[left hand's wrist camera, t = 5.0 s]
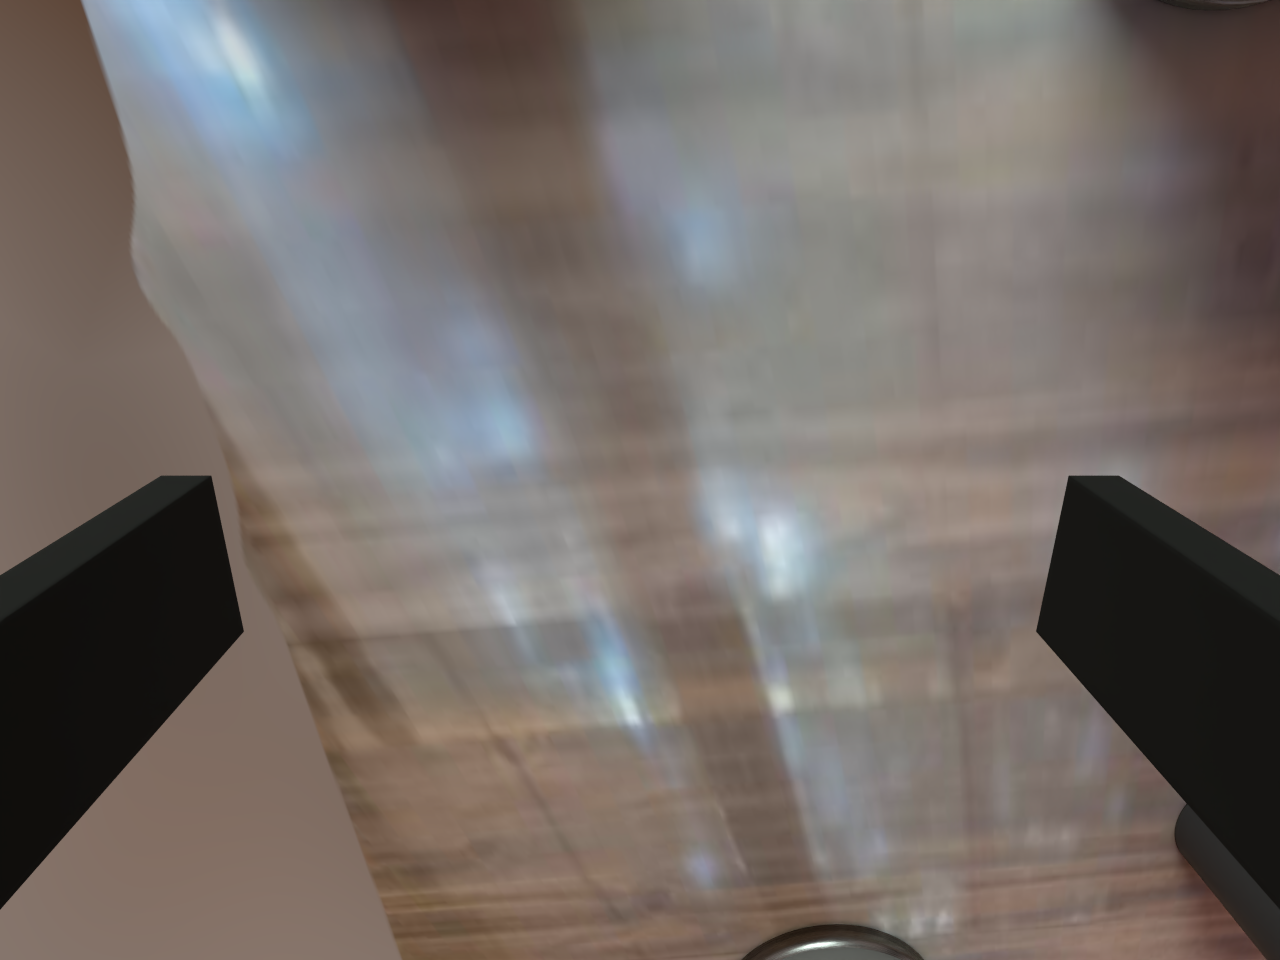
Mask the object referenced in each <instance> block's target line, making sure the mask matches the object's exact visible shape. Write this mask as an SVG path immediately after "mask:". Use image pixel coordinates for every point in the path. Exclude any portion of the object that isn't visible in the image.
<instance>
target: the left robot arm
mask: <svg viewBox="0 0 1280 960" xmlns="http://www.w3.org/2000/svg"><path fill="white" fill-rule="evenodd" d="M243 632H244V630H243V625H242V621H241V616H240V611H239V606H238V601H237V597H236V592H235V587H234V582H233V577H232V573H231V568H230V563H229V558H228V554H227V549H226V544H225V539H224V534H223V530H222V525H221V520H220V515H219V511H218V506H217V501H216V496H215V491H214V486H213V482H212V477H211V476H160V477H158V478H157V479H155V480H154V481H152V482H150V483H149V484H147V485H145V486H144V487H142V488H141V489H139V490H137V491H136V492H134V493H133V494H131V495H129V496H128V497H126V498H124V499H123V500H121V501H120V502H118V503H116V504H115V505H113V506H112V507H110V508H108V509H107V510H105V511H103V512H102V513H100V514H99V515H97V516H95V517H94V518H92V519H91V520H89V521H87V522H86V523H84V524H83V525H81V526H79V527H78V528H76V529H74V530H73V531H71V532H70V533H68V534H66V535H65V536H63V537H61V538H60V539H58V540H57V541H55V542H53V543H52V544H50V545H49V546H47V547H45V548H44V549H42V550H40V551H39V552H37V553H36V554H34V555H32V556H31V557H29V558H28V559H26V560H24V561H23V562H21V563H19V564H18V565H16V566H15V567H13V568H11V569H10V570H8V571H7V572H5V573H3V574H2V575H0V909H1V908H2V907H3V906H4V905H5V903H6V902H7V901H8V900H9V899H10V898H11V897H12V896H13V894H14V893H15V892H16V891H17V890H18V889H19V888H20V886H21V885H22V884H23V883H24V882H25V881H26V880H27V878H28V877H29V876H30V875H31V874H32V873H33V871H34V870H35V869H36V868H37V867H38V866H39V865H40V864H41V862H42V861H43V860H44V859H45V858H46V857H47V855H48V854H49V853H50V852H51V851H52V850H53V849H54V848H55V846H56V845H57V844H58V843H59V842H60V841H61V840H62V838H63V837H64V836H65V835H66V834H67V833H68V832H69V830H70V829H71V828H72V827H73V826H74V825H75V824H76V822H77V821H78V820H79V819H80V818H81V817H82V816H83V814H84V813H85V812H86V811H87V810H88V809H89V808H90V806H91V805H92V804H93V803H94V802H95V801H96V800H97V798H98V797H99V796H100V795H101V794H102V793H103V792H104V790H105V789H106V788H107V787H108V786H109V785H110V784H111V783H112V781H113V780H114V779H115V778H116V777H117V776H118V775H119V773H120V772H121V771H122V770H123V769H124V768H125V767H126V765H127V764H128V763H129V762H130V761H131V760H132V759H133V757H134V756H135V755H136V754H137V753H138V752H139V751H140V749H141V748H142V747H143V746H144V745H145V744H146V743H147V741H148V740H149V739H150V738H151V737H152V736H153V735H154V733H155V732H156V731H157V730H158V729H159V728H160V727H161V725H162V724H163V723H164V722H165V721H166V720H167V719H168V717H169V716H170V715H171V714H172V713H173V712H174V711H175V709H176V708H177V707H178V706H179V705H180V704H181V703H182V701H183V700H184V699H185V698H186V697H187V696H188V695H189V693H190V692H191V691H192V690H193V689H194V688H195V686H196V685H197V684H198V683H199V682H200V681H201V680H202V679H203V677H204V676H205V675H206V674H207V673H208V672H209V671H210V669H211V668H212V667H213V666H214V665H215V664H216V663H217V661H218V660H219V659H220V658H221V657H222V656H223V655H224V653H225V652H226V651H227V650H228V649H229V648H230V647H231V646H232V644H233V643H234V642H235V641H236V640H237V639H238V638H239V636H240V635H241V634H242V633H243ZM1036 632H1037V633H1038V634H1039V635H1040V636H1041V638H1042V639H1043V640H1044V641H1045V642H1046V643H1047V644H1048V646H1049V647H1050V648H1051V649H1052V650H1053V651H1054V652H1055V654H1056V655H1057V656H1058V657H1059V658H1060V659H1061V660H1062V662H1063V663H1064V664H1065V665H1066V666H1067V667H1068V668H1069V669H1070V671H1071V672H1072V673H1073V674H1074V675H1075V676H1076V677H1077V679H1078V680H1079V681H1080V682H1081V683H1082V684H1083V685H1084V687H1085V688H1086V689H1087V690H1088V691H1089V692H1090V693H1091V695H1092V696H1093V697H1094V698H1095V699H1096V700H1097V701H1098V703H1099V704H1100V705H1101V706H1102V707H1103V708H1104V709H1105V711H1106V712H1107V713H1108V714H1109V715H1110V716H1111V717H1112V719H1113V720H1114V721H1115V722H1116V723H1117V724H1118V725H1119V727H1120V728H1121V729H1122V730H1123V731H1124V732H1125V733H1126V735H1127V736H1128V737H1129V738H1130V739H1131V740H1132V741H1133V743H1134V744H1135V745H1136V746H1137V747H1138V748H1139V749H1140V751H1141V752H1142V753H1143V754H1144V755H1145V756H1146V757H1147V759H1148V760H1149V761H1150V762H1151V763H1152V764H1153V765H1154V767H1155V768H1156V769H1157V770H1158V771H1159V772H1160V773H1161V775H1162V776H1163V777H1164V778H1165V779H1166V780H1167V781H1168V783H1169V784H1170V785H1171V786H1172V787H1173V788H1174V789H1175V790H1176V792H1177V793H1178V794H1179V795H1180V796H1181V797H1182V798H1183V800H1184V801H1185V802H1186V803H1187V804H1188V805H1189V806H1190V808H1191V809H1192V810H1193V811H1194V812H1195V813H1196V814H1197V816H1198V817H1199V818H1200V819H1201V820H1202V821H1203V822H1204V824H1205V825H1206V826H1207V827H1208V828H1209V829H1210V830H1211V832H1212V833H1213V834H1214V835H1215V836H1216V837H1217V838H1218V840H1219V841H1220V842H1221V843H1222V844H1223V845H1224V846H1225V848H1226V849H1227V850H1228V851H1229V852H1230V853H1231V854H1232V856H1233V857H1234V858H1235V859H1236V860H1237V861H1238V862H1239V864H1240V865H1241V866H1242V867H1243V868H1244V869H1245V870H1246V872H1247V873H1248V874H1249V875H1250V876H1251V877H1252V878H1253V880H1254V881H1255V882H1256V883H1257V884H1258V885H1259V886H1260V888H1261V889H1262V890H1263V891H1264V892H1265V893H1266V894H1267V896H1268V897H1269V898H1270V899H1271V900H1272V901H1273V902H1274V903H1275V905H1276V906H1277V907H1278V908H1279V909H1280V575H1278V574H1277V573H1275V572H1273V571H1272V570H1270V569H1269V568H1267V567H1265V566H1264V565H1262V564H1261V563H1259V562H1257V561H1256V560H1254V559H1252V558H1251V557H1249V556H1248V555H1246V554H1244V553H1243V552H1241V551H1240V550H1238V549H1236V548H1235V547H1233V546H1231V545H1230V544H1228V543H1227V542H1225V541H1223V540H1222V539H1220V538H1219V537H1217V536H1215V535H1214V534H1212V533H1210V532H1209V531H1207V530H1206V529H1204V528H1202V527H1201V526H1199V525H1198V524H1196V523H1194V522H1193V521H1191V520H1189V519H1188V518H1186V517H1185V516H1183V515H1181V514H1180V513H1178V512H1177V511H1175V510H1173V509H1172V508H1170V507H1168V506H1167V505H1165V504H1164V503H1162V502H1160V501H1159V500H1157V499H1156V498H1154V497H1152V496H1151V495H1149V494H1147V493H1146V492H1144V491H1143V490H1141V489H1139V488H1138V487H1136V486H1135V485H1133V484H1131V483H1130V482H1128V481H1126V480H1125V479H1123V478H1122V477H1120V476H1069V477H1068V482H1067V486H1066V491H1065V496H1064V501H1063V506H1062V510H1061V515H1060V520H1059V525H1058V530H1057V534H1056V539H1055V544H1054V549H1053V553H1052V558H1051V563H1050V568H1049V573H1048V577H1047V582H1046V587H1045V592H1044V597H1043V601H1042V606H1041V611H1040V616H1039V620H1038V625H1037V630H1036ZM742 960H924V959H923V958H922V957H921V956H920V955H919V954H918V953H917V952H916V951H915V950H914V949H913V948H912V947H910V946H909V945H908V944H906V943H905V942H903V941H901V940H900V939H898V938H896V937H894V936H892V935H889V934H887V933H884V932H881V931H878V930H875V929H871V928H866V927H861V926H853V925H820V926H813V927H807V928H802V929H798V930H794V931H791V932H788V933H785V934H782V935H780V936H778V937H775V938H773V939H771V940H769V941H767V942H765V943H763V944H762V945H760V946H759V947H757V948H755V949H754V950H753V951H751V952H750V953H749V954H747V955H746V956H745V957H744V958H743V959H742Z"/></svg>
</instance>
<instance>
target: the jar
mask: <svg viewBox="0 0 1280 960" xmlns="http://www.w3.org/2000/svg"><path fill="white" fill-rule="evenodd" d="M1175 839H1176V843H1177V846H1178V848H1179V850H1180V852H1181V853H1182V855H1183V856H1184V857H1185V858H1186V860H1187V861H1188V862H1189V863H1190V865H1191V866H1192V867H1193V868H1194V870H1195V871H1196V872H1197V873H1198V875H1199V876H1200V877H1201V878H1202V880H1203V881H1204V882H1205V883H1206V885H1207V886H1208V887H1209V888H1210V890H1211V891H1212V892H1213V893H1214V895H1215V896H1216V897H1217V898H1218V899H1219V901H1220V902H1221V903H1222V904H1223V906H1224V907H1225V908H1226V909H1227V911H1228V912H1229V913H1230V914H1231V916H1232V917H1233V918H1234V919H1235V921H1236V922H1237V923H1238V924H1239V926H1240V927H1241V928H1242V929H1243V931H1244V932H1245V933H1246V934H1247V936H1248V937H1249V938H1250V939H1251V941H1252V942H1253V943H1254V944H1255V946H1256V947H1257V948H1258V949H1259V951H1260V952H1261V953H1262V954H1263V956H1264V957H1265V958H1266V959H1267V960H1280V909H1279V908H1278V907H1277V906H1276V905H1275V903H1274V902H1273V901H1272V900H1271V899H1270V898H1269V897H1268V896H1267V894H1266V893H1265V892H1264V891H1263V890H1262V889H1261V888H1260V886H1259V885H1258V884H1257V883H1256V882H1255V881H1254V880H1253V878H1252V877H1251V876H1250V875H1249V874H1248V873H1247V872H1246V870H1245V869H1244V868H1243V867H1242V866H1241V865H1240V864H1239V862H1238V861H1237V860H1236V859H1235V858H1234V857H1233V856H1232V854H1231V853H1230V852H1229V851H1228V850H1227V849H1226V848H1225V846H1224V845H1223V844H1222V843H1221V842H1220V841H1219V840H1218V838H1217V837H1216V836H1215V835H1214V834H1213V833H1212V832H1211V830H1210V829H1209V828H1208V827H1207V826H1206V825H1205V824H1204V822H1203V821H1202V820H1201V819H1200V818H1199V817H1198V816H1197V814H1196V813H1195V812H1194V811H1193V810H1192V809H1191V808H1190V806H1189V805H1188V804H1187V805H1186V806H1185V807H1184V809H1183V810H1182V812H1181V814H1180V816H1179V818H1178V821H1177V824H1176V828H1175Z"/></svg>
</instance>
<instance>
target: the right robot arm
mask: <svg viewBox="0 0 1280 960" xmlns="http://www.w3.org/2000/svg"><path fill="white" fill-rule="evenodd" d="M1160 1H1163V2H1165V3H1168V4H1171V5H1175V6H1179V7H1183V8H1188V9H1197V10H1227V9H1236V8H1242V7H1246V6H1251V5H1255V4H1259V3H1263V2H1266V1H1270V0H1160Z"/></svg>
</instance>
